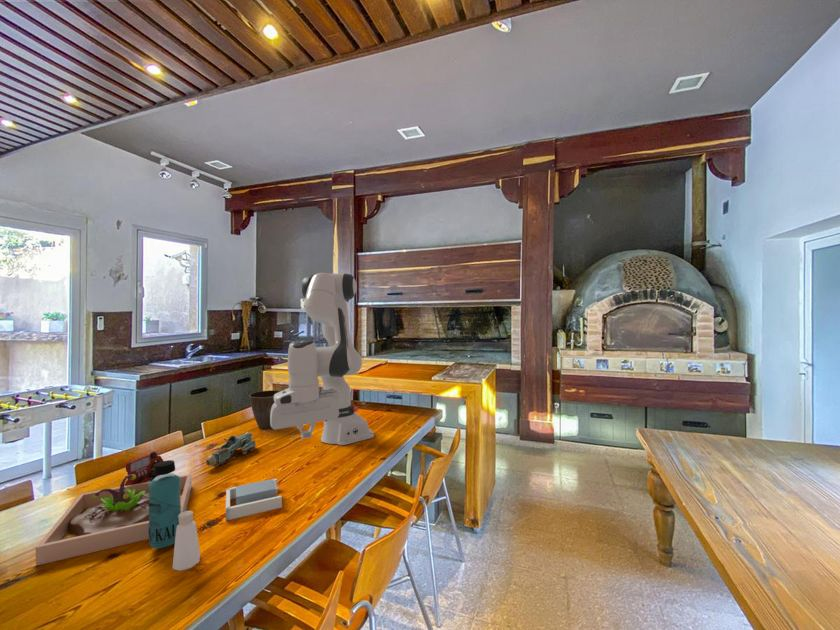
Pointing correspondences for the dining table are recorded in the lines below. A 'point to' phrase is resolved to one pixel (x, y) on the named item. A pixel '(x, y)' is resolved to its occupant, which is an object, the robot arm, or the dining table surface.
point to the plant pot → (262, 407)
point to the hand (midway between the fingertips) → (306, 437)
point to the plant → (113, 511)
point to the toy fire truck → (143, 468)
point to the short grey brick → (256, 491)
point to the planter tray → (71, 547)
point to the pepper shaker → (186, 543)
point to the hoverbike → (231, 449)
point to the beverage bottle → (164, 505)
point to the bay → (249, 505)
